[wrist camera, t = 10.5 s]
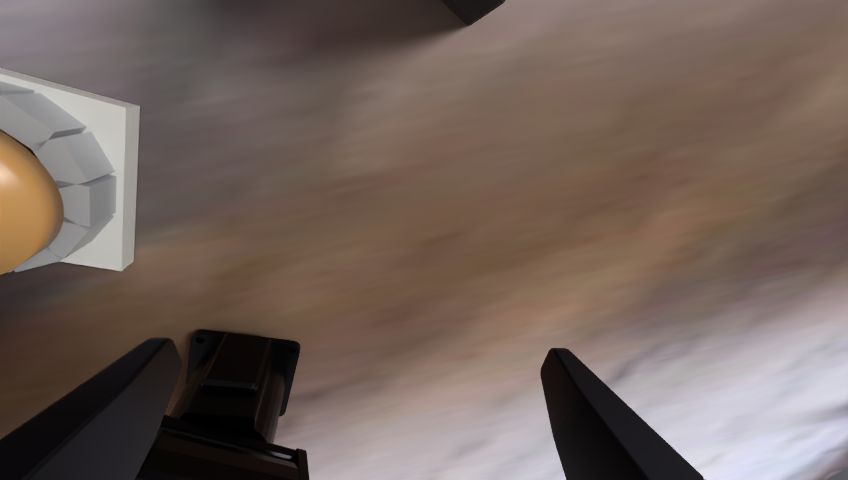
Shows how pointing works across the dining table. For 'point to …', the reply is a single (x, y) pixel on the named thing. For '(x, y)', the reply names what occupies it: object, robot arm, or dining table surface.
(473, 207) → the dining table surface
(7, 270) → the tan peg
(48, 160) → the housing
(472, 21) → the ammunition clip
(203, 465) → the robot arm
